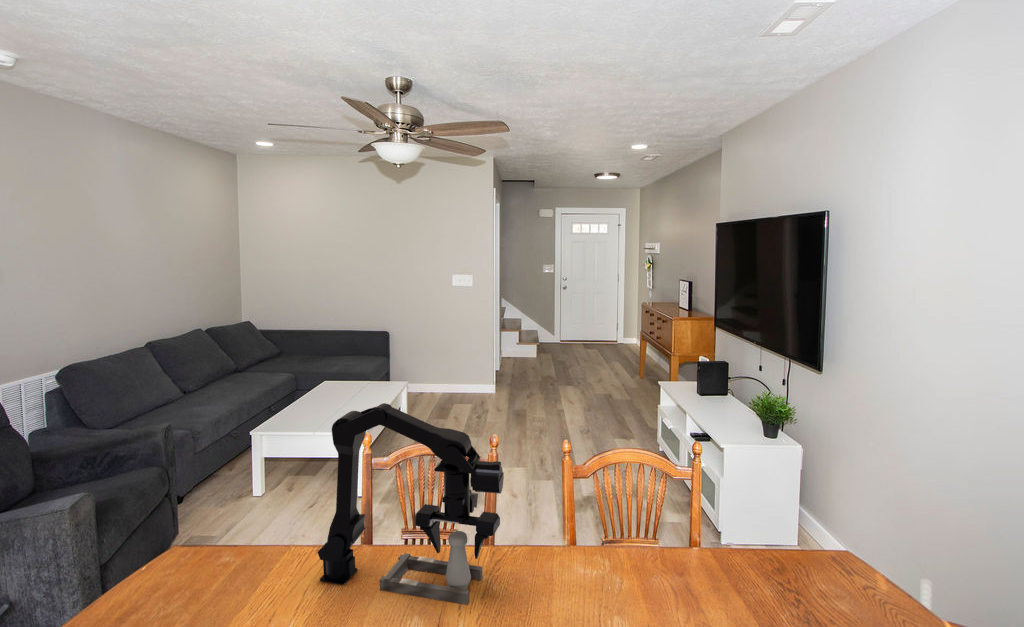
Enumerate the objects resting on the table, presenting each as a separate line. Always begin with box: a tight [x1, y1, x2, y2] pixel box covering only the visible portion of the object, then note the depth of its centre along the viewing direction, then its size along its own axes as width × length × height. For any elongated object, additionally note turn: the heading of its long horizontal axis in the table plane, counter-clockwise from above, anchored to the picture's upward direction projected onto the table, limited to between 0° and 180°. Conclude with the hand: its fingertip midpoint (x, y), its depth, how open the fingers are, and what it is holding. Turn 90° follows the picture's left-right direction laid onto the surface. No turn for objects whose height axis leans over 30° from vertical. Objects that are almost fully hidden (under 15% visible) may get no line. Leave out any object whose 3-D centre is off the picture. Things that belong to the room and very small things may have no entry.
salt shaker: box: [445, 530, 472, 590], centre depth 130 cm, size 6×6×13 cm
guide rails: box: [378, 552, 483, 605], centre depth 133 cm, size 21×11×3 cm, turn 75°
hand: (457, 555), depth 130 cm, fingers open, 9 cm apart
